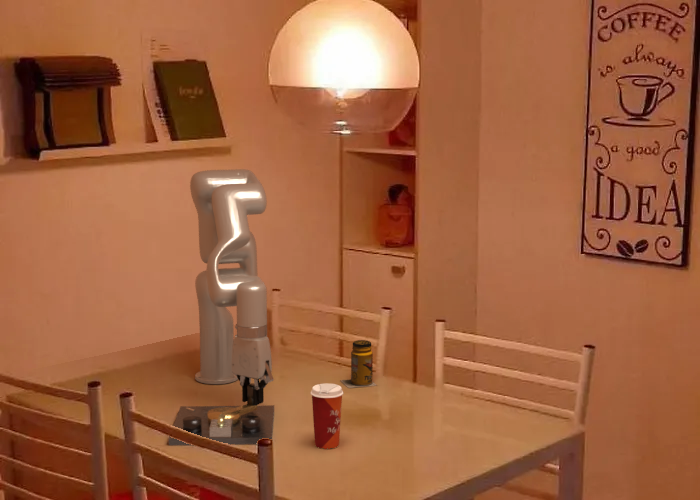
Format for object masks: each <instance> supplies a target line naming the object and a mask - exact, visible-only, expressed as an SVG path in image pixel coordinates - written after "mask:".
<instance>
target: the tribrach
mask: <svg viewBox="0 0 700 500" xmlns="http://www.w3.org/2000/svg"><path fill="white" fill-rule="evenodd" d="M240 406H241V405H212V406H211V405H209V406H207V405H202V406H201V405H199V406H198V405H197V406H194V405H191V406H187V405H186V406H183V405H182V406H180V407H179V410H178V413H177V414H176V418H175V421H174V423H173V426H175V427H178V428H181V429H183V430H186V431H188V432H191V433H194V434H197V435H200V436H202V437H206V438H209V439H212V440H216V441H219V442H223V443H228V444H230V445H231V444H235V445H257V444H256V443H257V441H258V440H259V439H262V438H269V439H272V440H273V434H274V433H273V432H274V420H275V419H274V418H275V404H274V405H257V410H254V411H252V412H249V413H246V414H243V415H240V421H239V422H238V423H236V424H233V419H225V415H224V414H220V415H219V417H218V419H212V420H211V424H210V423H209V422H208V414H207V413H208V411H209V410H211V409H214V408H220V407H231V408H237V407H240ZM168 446H190V445H189V444H186V443H184V442H182V441H179V440H177V439H174V438H171V437H170V436H169V437H168Z"/></svg>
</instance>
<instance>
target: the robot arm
mask: <svg viewBox="0 0 700 500" xmlns="http://www.w3.org/2000/svg"><path fill="white" fill-rule="evenodd" d="M189 183H190V185H189V187H190V188H189V189H190V194H191V199H192V202H193V205H194V207H195V210H196V212H197V213H196V214H197V221H198V247H199V249H198V250H199V255H200V259H201V261H202V262H203V263H204V264H206V270H203V271H200V272H199V273H198V274H197V275H196V278H195V281H194V282H195V285H194V287H195V292H196V299H197V304H198V319H199V320H198V321H199V355H200V357H199V358H200V361H199V362H200V371H198V372H196V373H195V375H194V379H195V380H196V381H197V382H198V383H202V384H206V385H207V384H208V385H224V384H229V383H234V382H236V381H239V385H240V387H241V392H242V394H241V397H242V398H241V399H242V403H247V384H251V383H252V379H253V381H254V382H253V383H254V384H255V389H254V390H253V404H254V405H257V406H259V405H260V404H263V403H264V395H265V393H264V388H266V387H267V385H268V384H269V383H271V382H273V381H274V380H275V379H274V377H273V373H272V370H273V369H272V368H273V367H272V365H273V362H272V351H271V344H270V339H269V337H268V302H267V301H268V297H267V296H268V295H267V294H268V292H267V291H268V290H267V285H266V284H265V282H264V281H263V280H262V278H261V277H260V276H258V250H257V242H256V238H255V235H254V234H253V232H252V231H250V226H249V219H248V216H250V215H261V214H263V213H264V212H265V211H266V209H267V206H268V205H267V203H268V201H267V194H266V191H265V188H264V186H263V183H261V181H260V180H259V178H258V177H257V176H256V174H255V173H254V172H253V171H252V170H250V169H243V168H241V169H237V168H236V169H209V170H208V169H207V170H202V171H198V172H195V173H194V174H192V175H191V178H190V182H189ZM227 264H228V265H229V264H238V266H239V267H228V268H227V267H225V268H222V267H221V268H219V265H227ZM227 307H230V308H231V307H236V324H235V326H234V316H233V315H232V313H231V311H230V310H229V309H228V308H227ZM234 327H235V329H236V335H234Z"/></svg>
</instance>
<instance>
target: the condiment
mask: <svg viewBox="0 0 700 500" xmlns="http://www.w3.org/2000/svg"><path fill="white" fill-rule="evenodd" d="M373 356H374V354H373V350H372V342H371V341H370V340H365V339H361V340H360V339H359V340H354V341H353V342H352V350H351V352H350V379H341V380H340V382H341V383H342V384H343V385H344V386H345V387H346V388H348V389H351V388H353V389H354V388H362V387H363V388H366V387H374V386H377V385H378V384H376V383H375V382H374V381H373V374H374V373H373V360H374V359H373V358H374V357H373Z"/></svg>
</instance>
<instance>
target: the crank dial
mask: <svg viewBox="0 0 700 500" xmlns="http://www.w3.org/2000/svg"><path fill="white" fill-rule="evenodd" d="M254 389H255V384H254V382H253V383H252V382H251V383H250V384H247V402H246V404H244V405H243V404H242V405H239V406H240V407H237V408H231V407H220V408H214V409H211V410H209V411H208V413H207V414H208V422H209V423H210V424H211V420H212V419H218V417H219V415H220V414H224V415H225V419H233V424H236V423H238V422H239V421H240V415H243V414H246V413H249V412H252V411H254V410H257V406H258V405H254V404H253V390H254Z"/></svg>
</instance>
